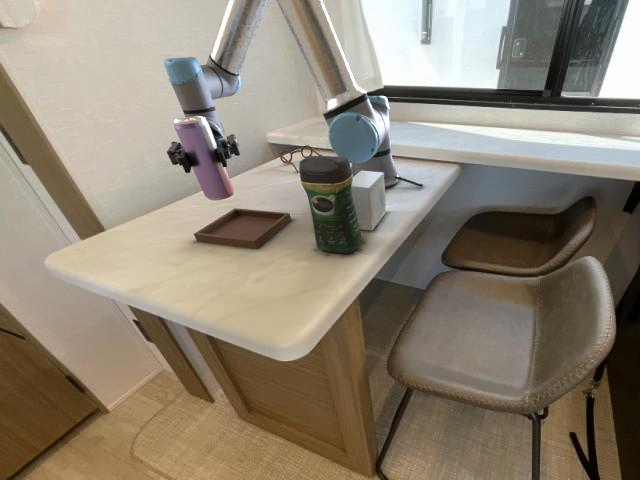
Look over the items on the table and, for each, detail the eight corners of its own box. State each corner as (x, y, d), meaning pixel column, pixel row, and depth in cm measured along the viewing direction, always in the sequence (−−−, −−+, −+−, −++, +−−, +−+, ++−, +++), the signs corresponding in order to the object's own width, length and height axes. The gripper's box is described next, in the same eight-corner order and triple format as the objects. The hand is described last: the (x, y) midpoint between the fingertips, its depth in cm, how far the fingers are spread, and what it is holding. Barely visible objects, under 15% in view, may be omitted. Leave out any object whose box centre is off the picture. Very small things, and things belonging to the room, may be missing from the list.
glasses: (313, 157, 124) (310, 143, 121) (329, 164, 116) (326, 149, 113) (281, 165, 118) (277, 150, 115) (296, 172, 110) (293, 157, 107)
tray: (291, 220, 80) (289, 213, 79) (257, 249, 70) (254, 241, 68) (237, 215, 84) (234, 208, 83) (197, 241, 74) (193, 233, 72)
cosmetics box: (373, 231, 74) (368, 186, 67) (348, 228, 75) (341, 185, 69) (387, 212, 81) (384, 171, 75) (364, 210, 83) (359, 169, 76)
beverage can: (216, 203, 66) (182, 123, 57) (200, 198, 69) (165, 121, 59) (240, 193, 70) (212, 116, 61) (224, 189, 73) (194, 115, 63)
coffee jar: (366, 238, 71) (355, 151, 59) (353, 257, 65) (339, 164, 54) (327, 235, 73) (309, 149, 62) (312, 252, 68) (288, 162, 56)
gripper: (252, 149, 82) (261, 173, 66) (171, 160, 77) (158, 191, 60) (241, 116, 77) (248, 134, 61) (154, 126, 72) (135, 149, 55)
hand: (203, 162), depth 61 cm, fingers closed on beverage can, 6 cm apart
